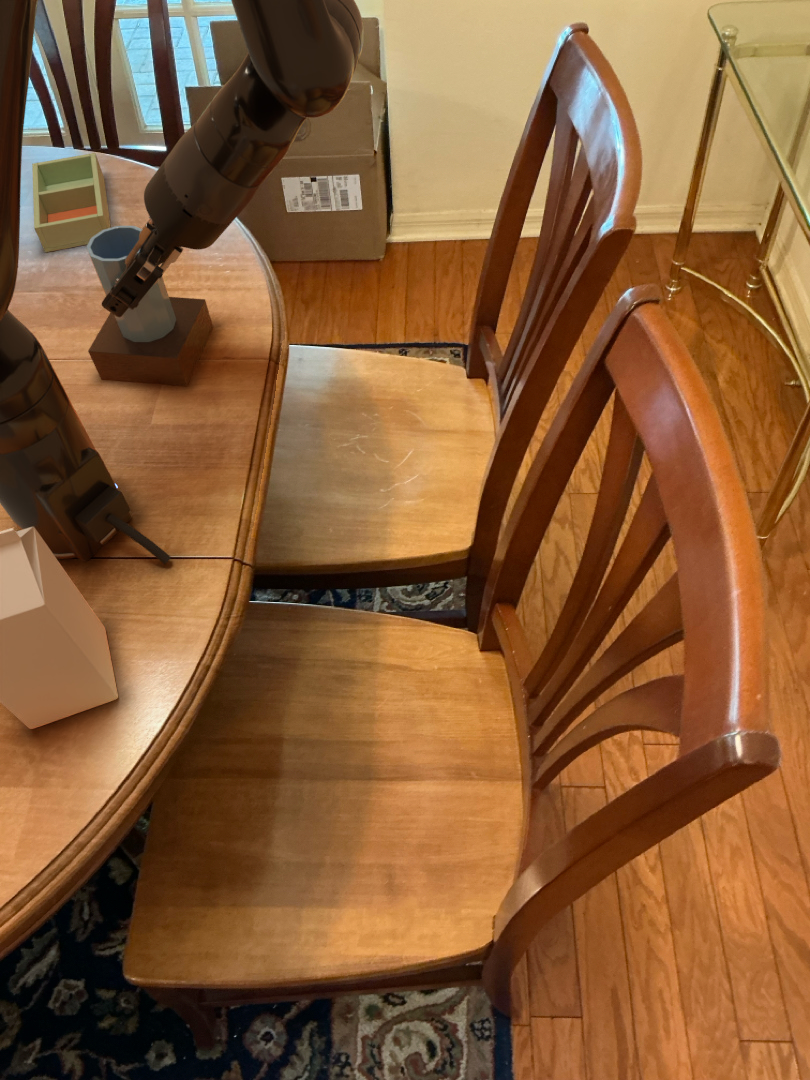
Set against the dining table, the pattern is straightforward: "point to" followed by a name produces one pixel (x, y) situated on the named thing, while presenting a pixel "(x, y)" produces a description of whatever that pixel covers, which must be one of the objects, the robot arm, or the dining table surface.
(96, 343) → the brown square block
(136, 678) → the dining table surface
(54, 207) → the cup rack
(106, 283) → the cup
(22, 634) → the milk carton
